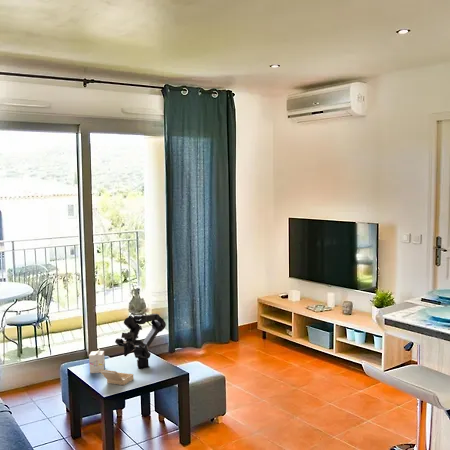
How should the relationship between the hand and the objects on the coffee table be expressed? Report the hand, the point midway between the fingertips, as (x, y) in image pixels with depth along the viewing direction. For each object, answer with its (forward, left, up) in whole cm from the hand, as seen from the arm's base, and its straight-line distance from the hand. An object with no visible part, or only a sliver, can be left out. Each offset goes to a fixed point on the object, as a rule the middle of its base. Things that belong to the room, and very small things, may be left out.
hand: (124, 356), depth 306 cm
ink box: (+15, -21, -14) cm, 29 cm away
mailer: (+4, +4, -13) cm, 15 cm away
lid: (+10, +10, -6) cm, 16 cm away
